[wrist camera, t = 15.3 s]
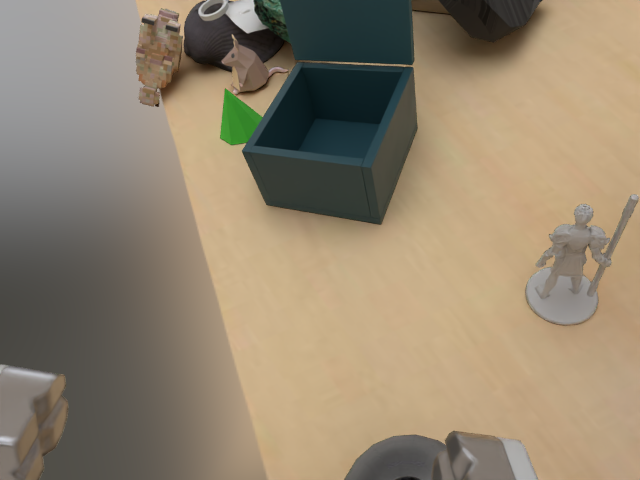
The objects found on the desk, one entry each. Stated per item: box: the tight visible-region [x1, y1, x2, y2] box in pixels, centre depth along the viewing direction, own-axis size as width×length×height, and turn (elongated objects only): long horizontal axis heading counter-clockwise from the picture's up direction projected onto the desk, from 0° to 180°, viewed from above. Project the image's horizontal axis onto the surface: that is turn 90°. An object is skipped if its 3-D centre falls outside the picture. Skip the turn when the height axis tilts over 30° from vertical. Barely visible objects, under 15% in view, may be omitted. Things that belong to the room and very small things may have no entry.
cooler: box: [242, 62, 417, 224], centre depth 50 cm, size 14×13×8 cm
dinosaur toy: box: [136, 8, 183, 107], centre depth 69 cm, size 15×6×11 cm
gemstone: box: [220, 89, 263, 145], centre depth 58 cm, size 6×6×6 cm
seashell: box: [184, 0, 284, 72], centre depth 71 cm, size 14×19×8 cm
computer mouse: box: [222, 0, 268, 33], centre depth 68 cm, size 9×12×3 cm
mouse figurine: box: [222, 34, 288, 94], centre depth 63 cm, size 5×8×7 cm, turn 104°
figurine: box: [525, 194, 639, 325], centre depth 34 cm, size 5×5×12 cm
